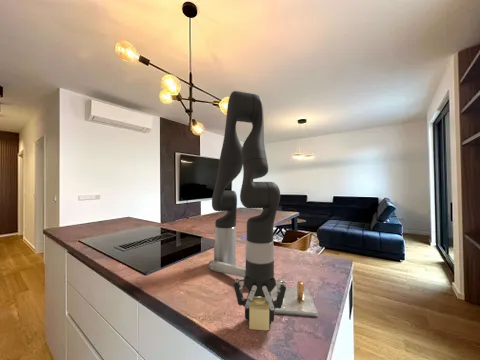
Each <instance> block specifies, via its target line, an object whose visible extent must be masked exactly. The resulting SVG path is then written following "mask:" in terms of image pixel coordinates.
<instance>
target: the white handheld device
mask: <svg viewBox="0 0 480 360" xmlns="http://www.w3.org/2000/svg"><path fill="white" fill-rule="evenodd" d="M208 269H209V270H211V271H214V272H215V273H223V274H227V275H232V276H236V277H241V278H243V279H244V278H245V276H246V267H241V266H238V265H235V266H234V265H231V264H227V263H223V262H220V261H219V260H217V261H215V260H214V259H213V260H210V261H209V262H208Z"/></svg>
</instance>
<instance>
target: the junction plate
mask: <svg viewBox="0 0 480 360" xmlns="http://www.w3.org/2000/svg"><path fill="white" fill-rule="evenodd" d="M276 281H277V282H280V283H281V282H284V280H283V279H277V280H276ZM296 282H297V284H296V285H297V287H288V286H286V291H285V295H284V299H283V303H282V307H281V308H280V309H279V308H276V309H275V310H274V314H276V315H277V314H278V315H279V314H280V315H292V316H306V317H316V318H317V317H319V314H318V310H317V308H316V305H315V303H314V300H313V297H312V295H311V293H310V291H309V288H305V282H304V281H300V280H299V281H296ZM271 295H272V298H273V301H275V300H276V299H277V295H278V291H277V287H276V286H275V287H274V289H273V290H272V291H271Z"/></svg>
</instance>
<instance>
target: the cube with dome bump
mask: <svg viewBox="0 0 480 360" xmlns="http://www.w3.org/2000/svg"><path fill="white" fill-rule="evenodd" d="M248 324H249V330H258V331H259V330H260V331H267V330H269V331H270V324H269V304H268V303H267V300H266V297H260V296H258V297H253V299H252V301H251V302H250V305H249V322H248Z"/></svg>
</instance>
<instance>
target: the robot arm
mask: <svg viewBox="0 0 480 360" xmlns="http://www.w3.org/2000/svg"><path fill="white" fill-rule="evenodd" d="M264 120H265V119H264V104H263V100H262V97H261V96H260V95H258V94H256V93H251V92H246V91H240V90H239V91H238V90H234V91H232V92H231V93H230V96H229V97H228V102H227V109H226V119H225V128H224V136H223V141H222V147H221V152H220V156H219V162H218V169H217V176H216V182H215V186H214V189H213V193H212V197H211V207H212V209H213V211H216V212H227V213H226V214H224V215H223V216H221V217H219V218H217V219H216V220H215V225H214V227H215V228H214V230H215V231H214V234H215V236H214V237H215V241H214V242H215V243H214V244H213V260H215V261H217V260H219V261H220V262H223V263H227V264H231V265H234V266H237V265H236V264H237V263H236V261H237V259H236V258H237V255H236V254H237V246H236V245H237V211H238V210H237V209H238V197H237V192H236V191H235V190H228V189H227V190H226V188H227V187H228V186H229V184H231V183H232V182H233V181H234V180H235V179H236V178H237V177H238V176H239V175H240V173H241V172H242V171H243V174H242V175H243V176H242V182H241V188H240V195H239V199H240V203H241V204H242V206H243V207H244V208H246V209H250V210H251V209H263V210H262V212H261V213H259V214H258V215H256V216H252V217H249V218H248V219H247V221H246V245H245V269H246V276H245V278H244V277H243V279H239V278H236V279H234V284H233V288H234V292H235V296H236V301H237V304H238V306H241V307H242V306H243V307H244V319H245V320H247V323H249V305H250V302H251V301H252V299H253V297H258V296H260V297H266V300H267V303H268V304H269V325H272V322H274V321H275V313H274V310H275V309H276V308H279V309H280V308H281V307H282V303H283V299H284V295H285V291H286V287H287V286H286V283H285V282H284V281H283V282H281V283H280V282H277V280H276V278H275V245H274V223H275V219H276V215H277V211H278V208H279V204H280V200H281V189H280V187H279V185H278V184H277V183H276V182H273V181H254V180H257V179H260V178H262V177H265V176H266V175H268V172H269V164H268V158H267V154H266V153H267V152H266V148H265V139H264V137H265V133H264V132H265V129H264V128H265V127H264V124H265V123H264ZM237 122H240V123H248V124H251V125H252V127H251V130H250V133H249V134H248V136H247V137H246V139H245V140H244V141H243V144H241V142H240V139H239V137H238V134H237ZM243 286H245V287H246V289H247V290H248V293H247V295H246V298H245V297H244V295H243V291H242V290H243ZM274 287H277V291H278V295H277V299H276V300H275V301H273V298H272V295H271V291H272V290H273V289H274Z"/></svg>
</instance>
